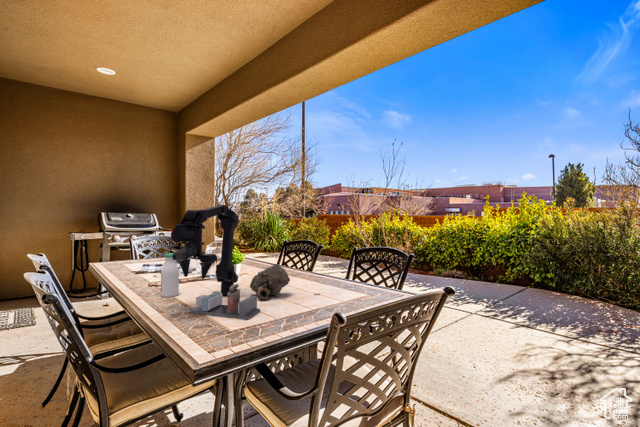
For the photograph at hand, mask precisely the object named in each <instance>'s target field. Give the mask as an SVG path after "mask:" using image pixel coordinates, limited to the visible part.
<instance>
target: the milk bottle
mask: <svg viewBox="0 0 640 427" xmlns="http://www.w3.org/2000/svg"><path fill="white" fill-rule="evenodd" d="M174 253H175V252H174ZM174 253H173V252H170V253H169V252H168V253H165V254H164V263H163V264H162V265H163V266H162V267H161V270H160V272H161V273H160V296H161V297H163V298H172V297H177V296H178V295H179V292H180V291H179V289H180V288H179V287H180V286H179V284H180V283H179V282H180V276H179V275H180V274H179V273H180V272H179V267H178V263H177V262H175V260H173V254H174Z"/></svg>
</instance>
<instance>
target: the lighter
mask: <svg viewBox="0 0 640 427" xmlns="http://www.w3.org/2000/svg"><path fill="white" fill-rule="evenodd" d="M226 297H227V303H226V305H227V313H229V314H230V313H234V312H236V311H238V303H239V302H241V289H239V283H234V285H231V287H230V292H228V293H227V296H226Z"/></svg>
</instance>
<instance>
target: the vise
mask: <svg viewBox="0 0 640 427" xmlns="http://www.w3.org/2000/svg"><path fill="white" fill-rule="evenodd" d="M188 311H189V313H188V314H195V315H196V314H197V315H204V316H212V317H221V318H230V319H238V320H245V321H246V320H247V321H248V320H250V319H251V318H253V317H255V316H256V315H258V314H259V313H261V308H258V295H250V296H248V297H246V298H244V299H242V300H240V302H239V303H238V311H236V312H234V313H230V314H229V313H227V304H221V305H219V306H217V307H215V308H213V309H211V310H209V311H202V305H196V306H195V307H192V308H191V309H189V310H188Z"/></svg>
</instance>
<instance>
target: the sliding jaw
mask: <svg viewBox="0 0 640 427" xmlns="http://www.w3.org/2000/svg"><path fill="white" fill-rule="evenodd" d="M195 305H196V306H199V305H202V311H209V310H211V309H213V308H215V307H217V306H219V305H223V295H222V292H221V291H215V292H213V293H211V294H208V295H207V294H201V295H199V296H196V297H195Z"/></svg>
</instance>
